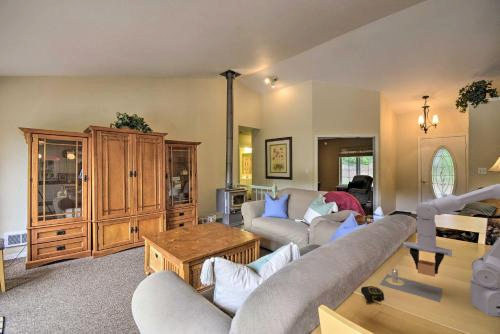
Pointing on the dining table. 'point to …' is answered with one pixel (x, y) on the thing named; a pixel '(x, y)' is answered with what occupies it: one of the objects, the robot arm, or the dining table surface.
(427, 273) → the collar
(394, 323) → the dining table surface
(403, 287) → the seat plate
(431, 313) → the dining table surface
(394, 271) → the steel post
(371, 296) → the tape measure
